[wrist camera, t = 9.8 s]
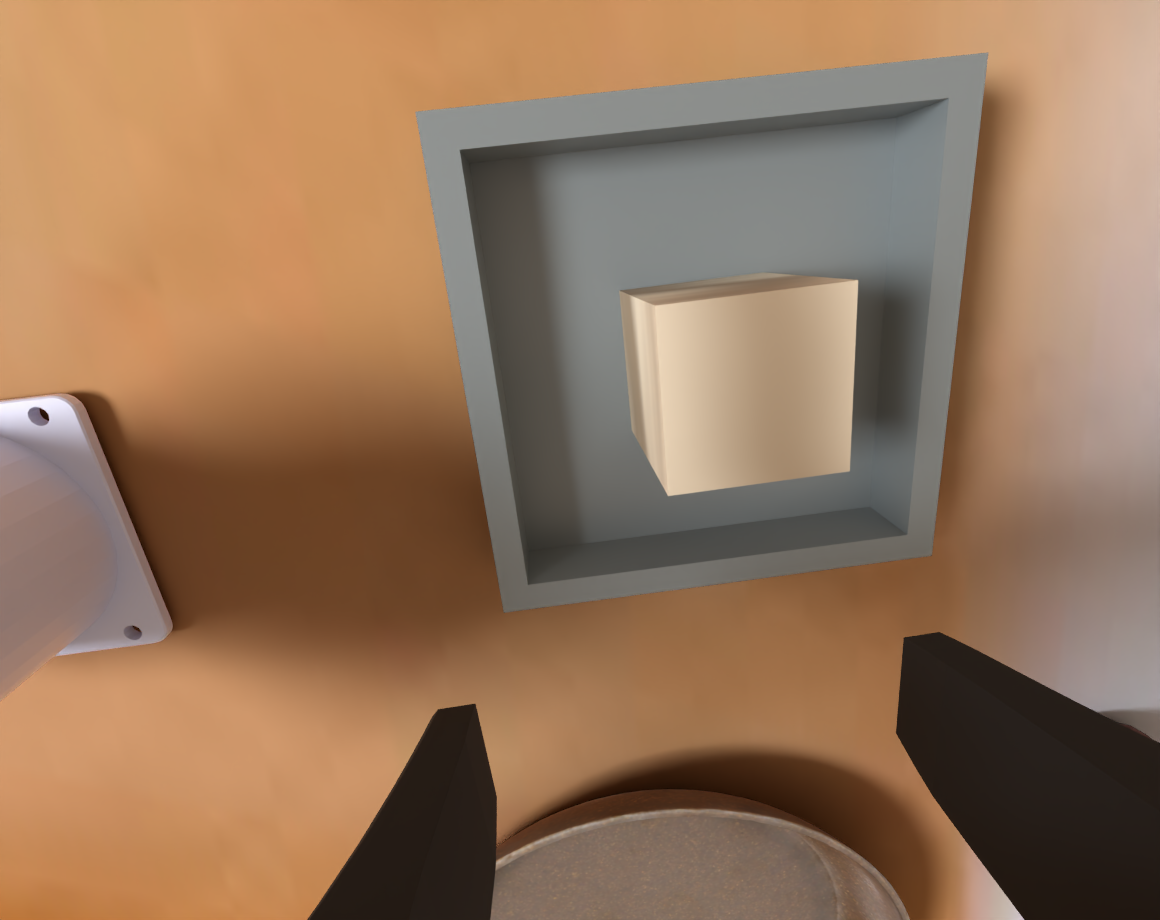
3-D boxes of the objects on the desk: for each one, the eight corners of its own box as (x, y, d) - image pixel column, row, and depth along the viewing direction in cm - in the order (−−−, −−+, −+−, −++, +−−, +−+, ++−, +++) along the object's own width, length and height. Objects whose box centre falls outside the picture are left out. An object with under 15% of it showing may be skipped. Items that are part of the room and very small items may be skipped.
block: (631, 429, 17) (668, 496, 13) (619, 290, 16) (654, 305, 11) (764, 412, 17) (849, 471, 13) (763, 272, 16) (858, 279, 11)
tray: (507, 568, 19) (503, 612, 17) (434, 134, 15) (415, 111, 12) (883, 519, 19) (931, 555, 17) (918, 83, 15) (987, 52, 13)
